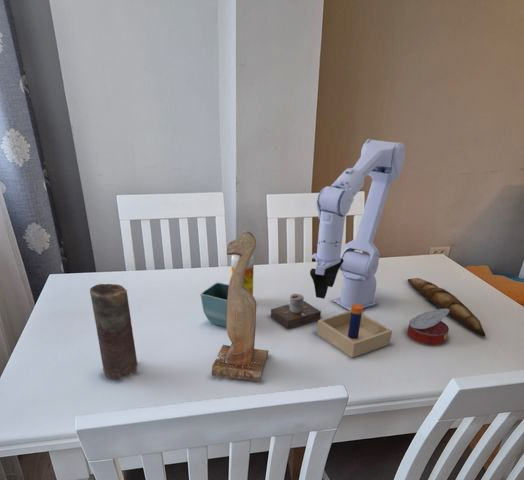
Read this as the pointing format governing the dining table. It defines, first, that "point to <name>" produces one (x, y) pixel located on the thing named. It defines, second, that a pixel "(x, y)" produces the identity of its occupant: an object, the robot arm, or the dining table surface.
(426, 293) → the bread
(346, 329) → the open wooden box
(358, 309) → the marker
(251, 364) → the bird sculpture
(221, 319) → the flower pot
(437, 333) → the canned food
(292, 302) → the grey dial knob
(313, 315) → the block
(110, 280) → the dining table surface
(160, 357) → the dining table surface
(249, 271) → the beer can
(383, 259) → the dining table surface
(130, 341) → the candle
